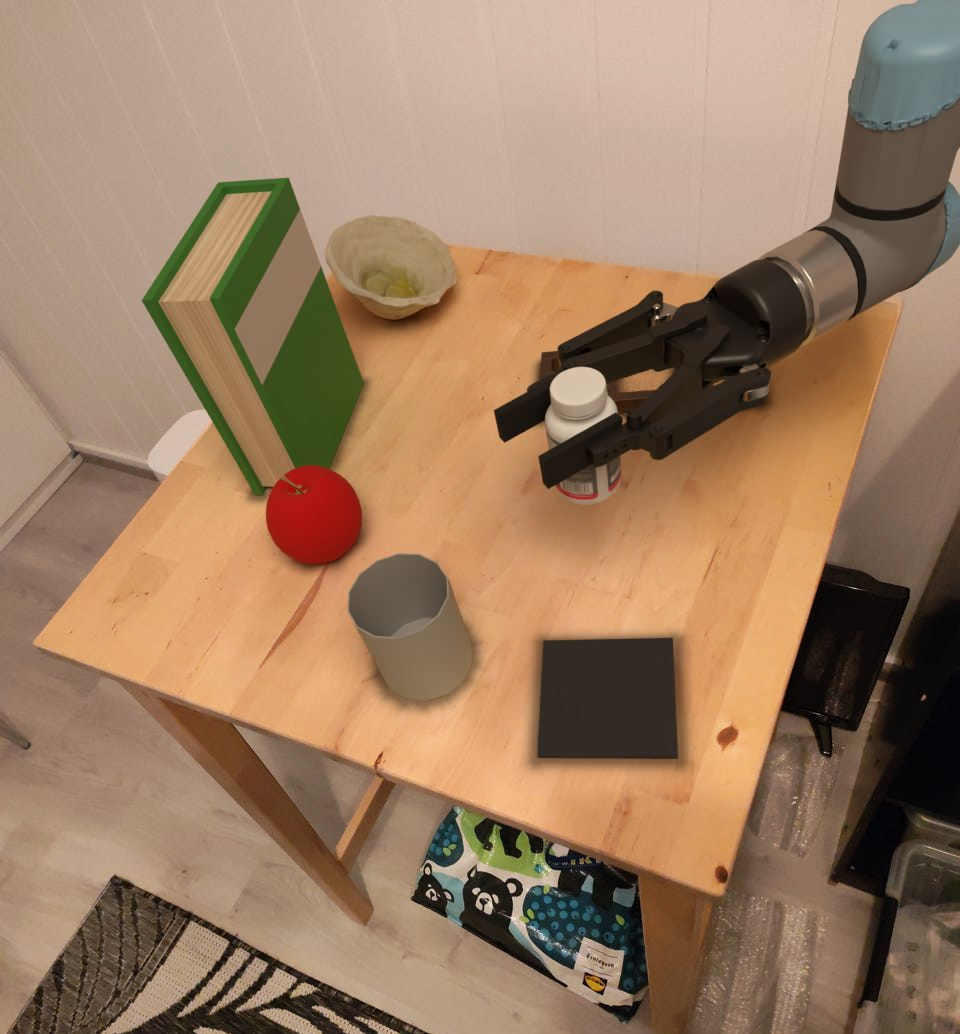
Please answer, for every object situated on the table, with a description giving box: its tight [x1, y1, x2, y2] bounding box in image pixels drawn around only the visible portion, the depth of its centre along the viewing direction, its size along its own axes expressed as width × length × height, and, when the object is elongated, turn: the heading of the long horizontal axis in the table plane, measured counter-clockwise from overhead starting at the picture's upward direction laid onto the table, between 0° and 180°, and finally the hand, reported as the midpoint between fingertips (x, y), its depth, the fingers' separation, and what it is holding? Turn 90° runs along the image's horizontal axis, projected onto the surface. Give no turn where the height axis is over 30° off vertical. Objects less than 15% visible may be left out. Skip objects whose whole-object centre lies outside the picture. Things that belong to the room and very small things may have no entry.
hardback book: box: [141, 177, 365, 496], centre depth 83 cm, size 18×7×24 cm, turn 168°
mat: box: [536, 637, 679, 760], centre depth 69 cm, size 11×11×1 cm
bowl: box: [324, 214, 458, 321], centre depth 99 cm, size 15×14×10 cm
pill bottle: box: [544, 367, 622, 506], centre depth 63 cm, size 5×5×10 cm
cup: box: [346, 552, 473, 702], centre depth 70 cm, size 8×8×10 cm
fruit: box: [265, 465, 363, 565], centre depth 80 cm, size 9×9×10 cm
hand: (521, 448), depth 60 cm, fingers closed on pill bottle, 5 cm apart
